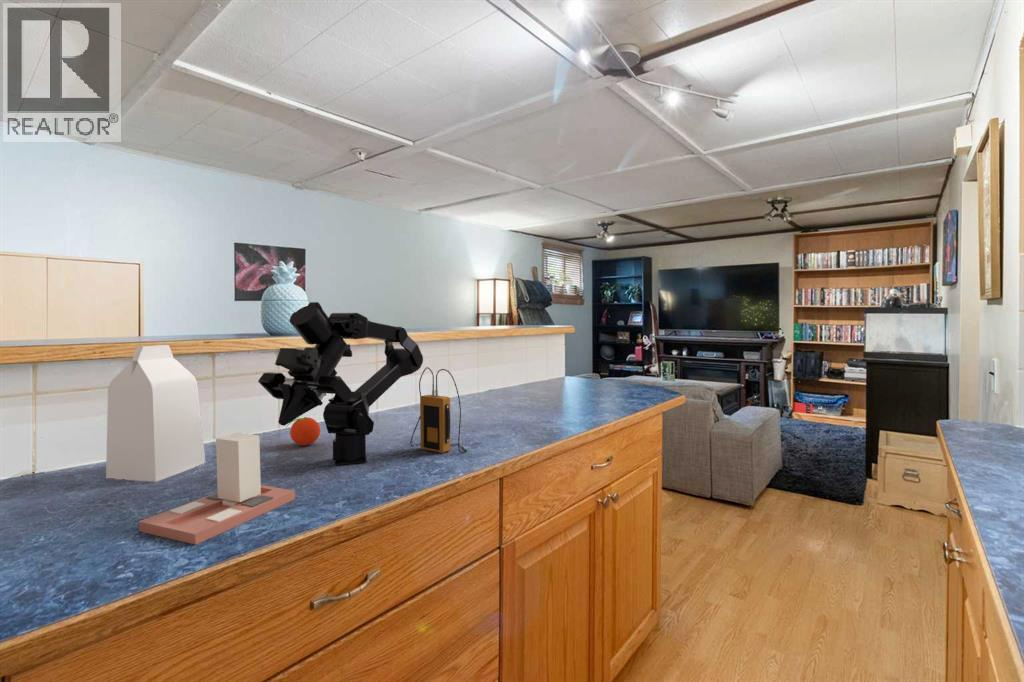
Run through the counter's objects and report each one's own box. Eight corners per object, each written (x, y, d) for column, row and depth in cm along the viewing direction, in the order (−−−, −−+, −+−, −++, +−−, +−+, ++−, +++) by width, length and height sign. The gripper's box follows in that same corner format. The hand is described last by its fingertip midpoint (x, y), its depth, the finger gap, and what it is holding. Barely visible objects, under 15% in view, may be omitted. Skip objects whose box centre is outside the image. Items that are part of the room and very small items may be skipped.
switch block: (244, 490, 88) (244, 481, 88) (295, 499, 84) (295, 489, 84) (139, 531, 71) (138, 520, 71) (195, 544, 67) (195, 533, 67)
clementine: (286, 451, 114) (286, 421, 114) (284, 444, 120) (283, 416, 120) (322, 446, 118) (321, 418, 118) (318, 440, 124) (318, 413, 124)
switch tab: (239, 495, 83) (237, 433, 83) (261, 499, 81) (259, 435, 81) (218, 504, 79) (215, 438, 79) (240, 508, 78) (238, 441, 77)
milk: (155, 481, 93) (150, 348, 91) (106, 478, 95) (100, 347, 93) (205, 463, 105) (201, 344, 103) (160, 460, 107) (156, 343, 105)
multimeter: (481, 446, 118) (480, 366, 117) (455, 456, 110) (454, 369, 108) (436, 438, 126) (435, 362, 125) (408, 447, 117) (407, 366, 116)
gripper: (265, 332, 96) (215, 395, 86) (340, 333, 89) (295, 401, 79) (296, 367, 103) (253, 429, 94) (367, 371, 97) (330, 437, 87)
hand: (281, 424), depth 88 cm, fingers closed
